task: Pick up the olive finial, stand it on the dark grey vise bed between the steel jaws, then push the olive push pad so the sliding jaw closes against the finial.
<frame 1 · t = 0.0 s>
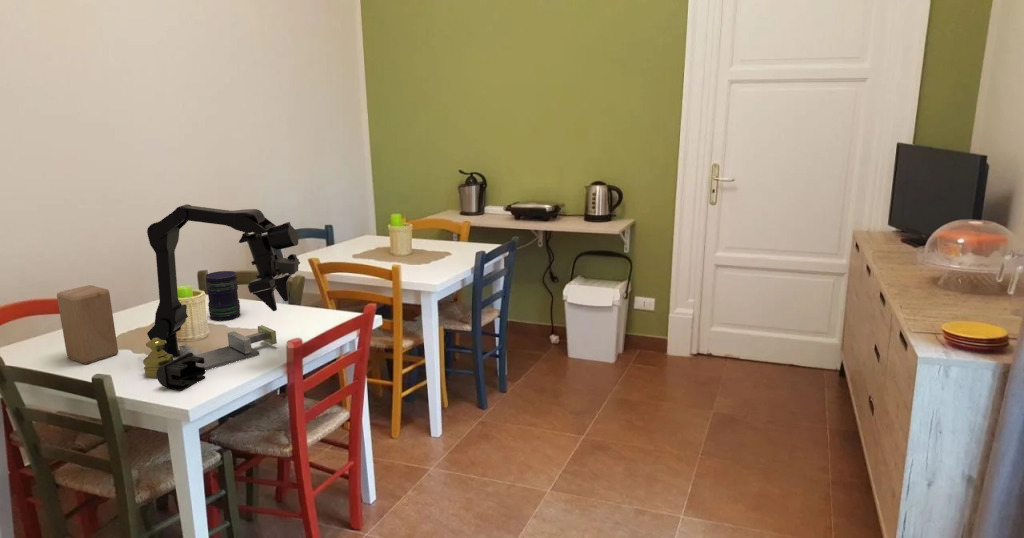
hand: (281, 305, 196), 15 cm above the table, tool pointing down, fingers open, 9 cm apart
vise bed: (210, 361, 196), on the table
storage jar: (225, 317, 235), on the table
olive finial: (160, 373, 188), on the table
wooden block: (93, 357, 199), on the table
end cap: (183, 383, 182), on the table
sliding jaw: (253, 338, 204), point 3 cm above the table, slide at 0.0 cm
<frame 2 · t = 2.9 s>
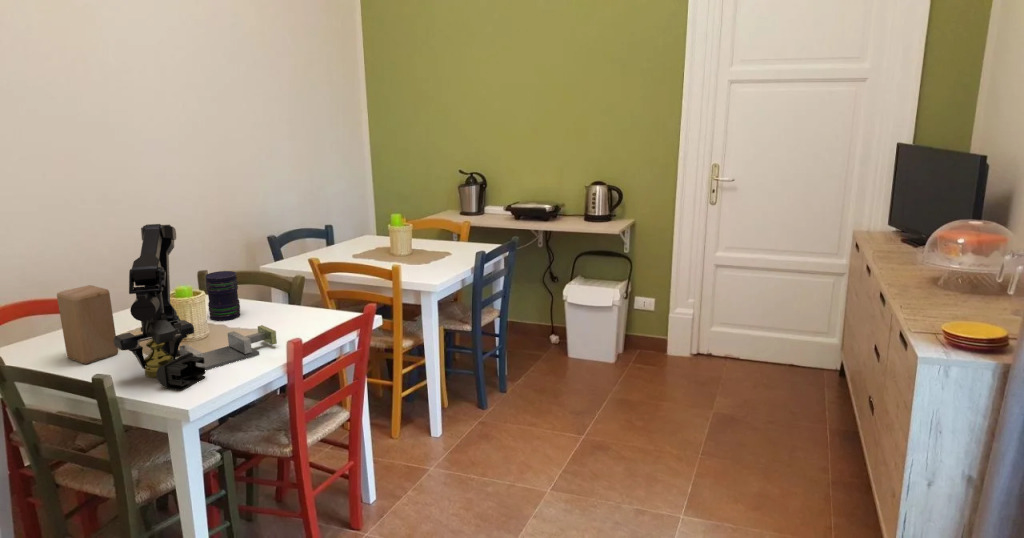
hand: (158, 364, 187), 3 cm above the table, tool pointing down, fingers closed on olive finial, 7 cm apart
olive finial: (160, 373, 188), on the table, touching gripper
everything else where it was.
when the fingers open (5 cm above the table, at t = 7.7 s): olive finial drops 1 cm, resting on vise bed.
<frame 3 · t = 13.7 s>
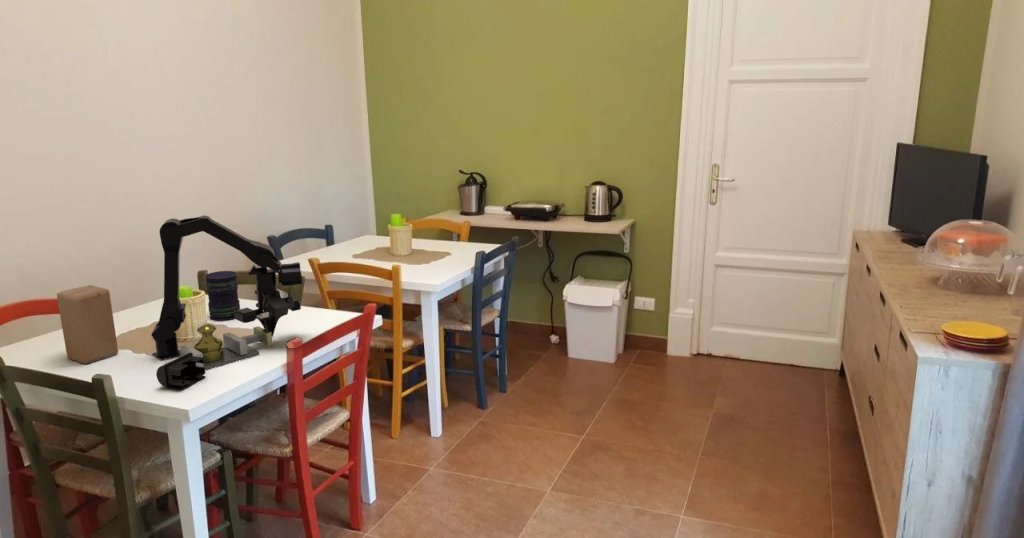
hand: (270, 336, 209), 2 cm above the table, tool pointing down, fingers closed
olive finial: (210, 358, 196), point 1 cm above the table, touching vise bed
sliding jaw: (248, 339, 204), point 3 cm above the table, slide at 1.4 cm, touching gripper
everything else where it was.
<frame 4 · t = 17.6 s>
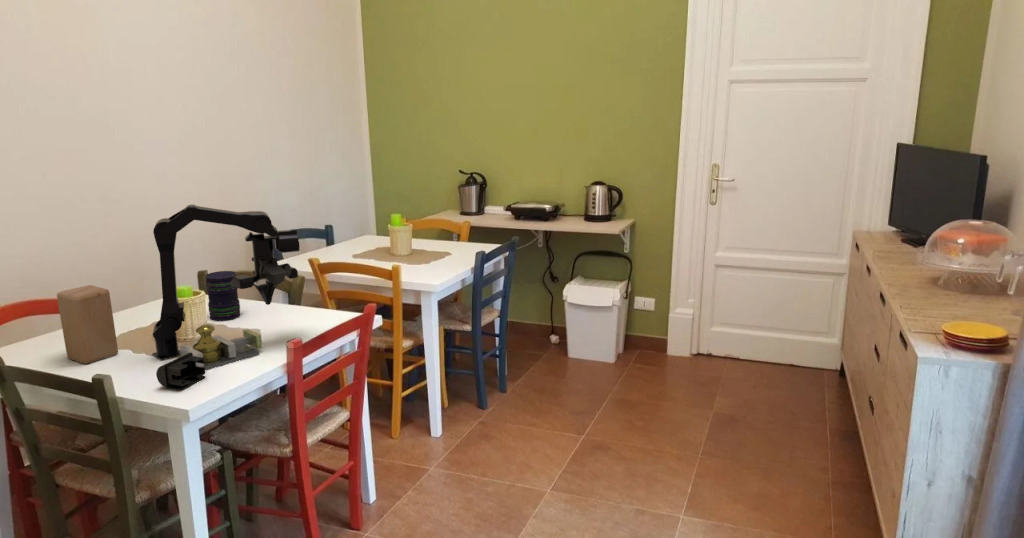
hand: (268, 304, 209), 12 cm above the table, tool pointing down, fingers closed
olive finial: (208, 359, 195), point 1 cm above the table, touching sliding jaw, vise bed
sliding jaw: (238, 342, 201), point 3 cm above the table, slide at 4.7 cm, touching olive finial
everything else where it was.
at the end: olive finial touching sliding jaw, vise bed; olive finial tilted 0°; olive finial 0.2 cm off-centre on the vise bed, point 0.8 cm above the vise bed's base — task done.
